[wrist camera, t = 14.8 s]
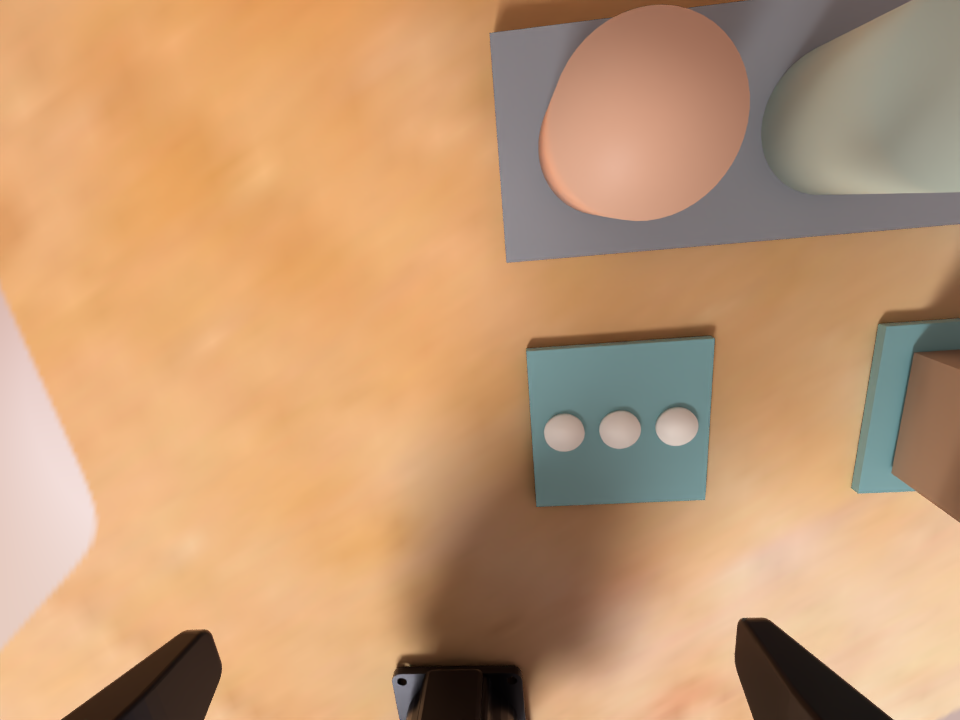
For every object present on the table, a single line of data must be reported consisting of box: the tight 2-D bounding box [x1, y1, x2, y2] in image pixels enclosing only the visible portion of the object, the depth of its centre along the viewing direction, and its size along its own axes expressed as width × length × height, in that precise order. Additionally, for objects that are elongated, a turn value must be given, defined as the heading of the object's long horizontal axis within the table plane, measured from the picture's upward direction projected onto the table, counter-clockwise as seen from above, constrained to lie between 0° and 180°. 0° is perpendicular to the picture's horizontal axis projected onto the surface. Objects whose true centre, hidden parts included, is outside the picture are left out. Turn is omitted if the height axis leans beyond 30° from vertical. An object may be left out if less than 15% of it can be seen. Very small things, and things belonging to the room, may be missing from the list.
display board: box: [490, 0, 960, 263], centre depth 13 cm, size 7×21×6 cm, turn 95°
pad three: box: [526, 336, 715, 507], centre depth 19 cm, size 7×7×1 cm
